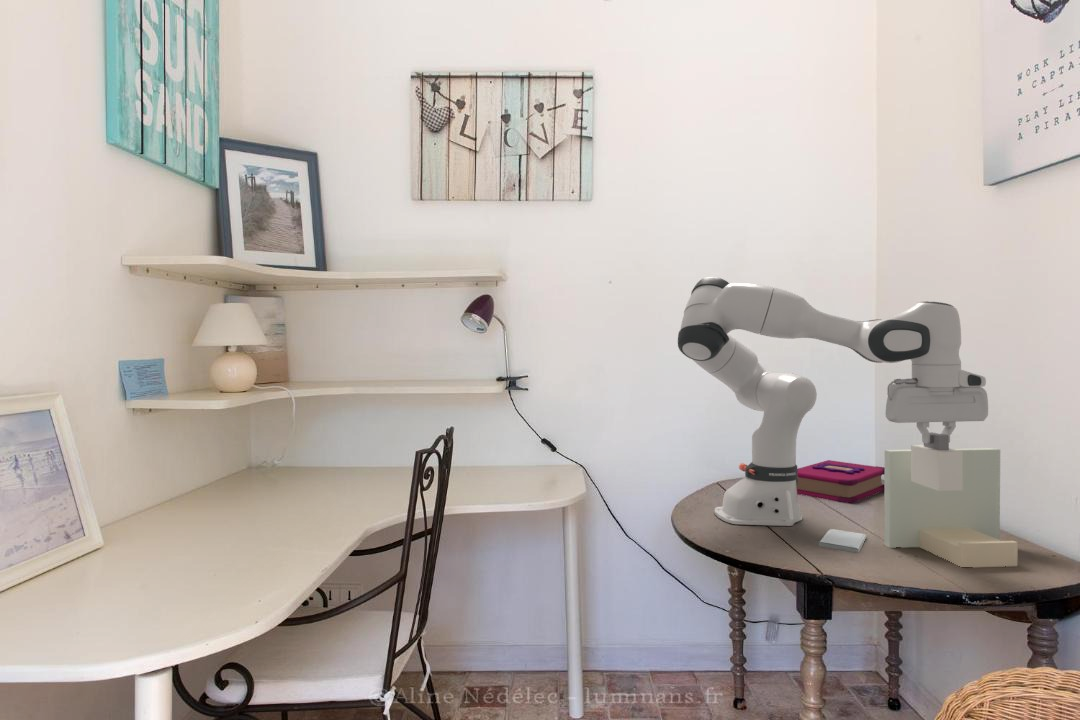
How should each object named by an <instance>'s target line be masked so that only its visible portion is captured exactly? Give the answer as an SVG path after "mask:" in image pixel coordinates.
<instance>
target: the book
mask: <svg viewBox="0 0 1080 720" xmlns="http://www.w3.org/2000/svg"><path fill="white" fill-rule="evenodd" d="M797 470H798V482H797V485H796V486H797V495H801V494H802V496H806V495H807V496H808V497H811V496H812V497H813V498H817V497H818V498H817V499H822V498H823V499H824V500H827V499H828V501H832V502H833V501H834V502H839V503H844V504H854V503H857V502H859V501H861V499H862V500H863V499H866V497H867V498H869V497H871V495H872V496H874V495H876V493H877V494H879V493H881V491H882V492H884V485H885V483H882V475H884V476H885V466H876V465H875V466H873V465H867V464H858V463H851V462H845V461H844V462H843V461H837V460H831V459H827V460H824V461H820V462H817V463H813V464H810V465H806V466H802V467H797ZM878 492H879V493H878ZM873 494H874V495H873ZM868 496H869V497H868ZM812 497H811V498H812ZM858 500H859V501H858Z"/></svg>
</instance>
